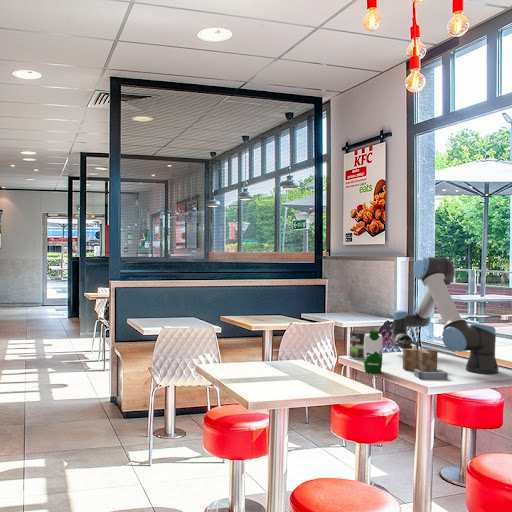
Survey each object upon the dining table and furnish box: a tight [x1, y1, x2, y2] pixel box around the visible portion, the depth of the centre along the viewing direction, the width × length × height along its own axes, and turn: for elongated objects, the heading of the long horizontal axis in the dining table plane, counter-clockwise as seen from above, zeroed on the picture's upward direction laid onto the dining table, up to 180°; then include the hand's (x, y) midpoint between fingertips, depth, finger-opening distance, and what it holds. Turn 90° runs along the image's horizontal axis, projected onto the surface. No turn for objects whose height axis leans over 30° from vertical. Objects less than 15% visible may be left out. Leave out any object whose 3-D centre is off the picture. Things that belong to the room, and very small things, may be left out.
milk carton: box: [363, 330, 384, 374], centre depth 296 cm, size 9×9×20 cm
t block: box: [402, 348, 439, 372], centre depth 301 cm, size 16×12×10 cm
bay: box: [413, 368, 448, 380], centre depth 286 cm, size 13×9×3 cm
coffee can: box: [349, 330, 370, 360], centre depth 335 cm, size 10×10×14 cm
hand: (415, 348), depth 313 cm, fingers closed
